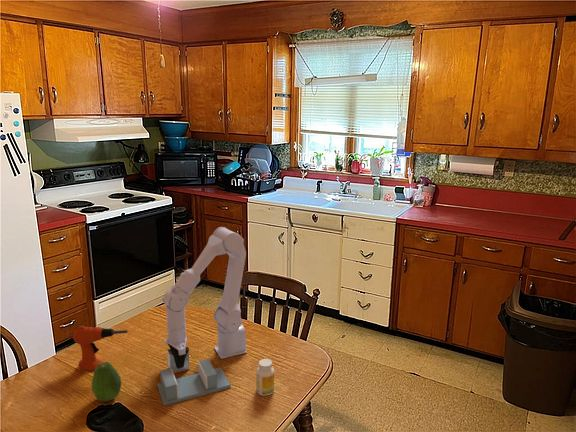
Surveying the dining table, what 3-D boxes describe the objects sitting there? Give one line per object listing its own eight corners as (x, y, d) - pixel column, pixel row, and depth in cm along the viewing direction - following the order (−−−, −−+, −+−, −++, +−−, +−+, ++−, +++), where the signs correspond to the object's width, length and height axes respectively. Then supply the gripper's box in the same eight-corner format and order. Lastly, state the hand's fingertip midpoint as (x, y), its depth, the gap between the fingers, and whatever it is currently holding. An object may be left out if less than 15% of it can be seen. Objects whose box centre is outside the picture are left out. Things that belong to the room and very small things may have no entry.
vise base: (220, 370, 142) (220, 355, 140) (230, 387, 133) (230, 371, 132) (157, 386, 133) (156, 370, 132) (163, 406, 124) (162, 389, 123)
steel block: (186, 362, 146) (185, 345, 144) (189, 369, 142) (188, 351, 141) (168, 367, 143) (167, 349, 142) (170, 373, 140) (169, 355, 138)
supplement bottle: (253, 392, 131) (252, 364, 128) (262, 383, 135) (262, 355, 133) (268, 398, 128) (268, 369, 126) (277, 388, 133) (277, 360, 130)
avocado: (87, 403, 125) (83, 366, 122) (108, 388, 132) (104, 352, 129) (108, 411, 122) (104, 373, 119) (128, 394, 129) (125, 358, 126)
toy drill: (131, 369, 139) (122, 326, 136) (76, 372, 141) (65, 330, 138) (138, 360, 144) (128, 319, 141) (84, 364, 146) (74, 323, 143)
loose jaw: (209, 371, 139) (208, 358, 138) (217, 386, 132) (216, 373, 130) (198, 373, 138) (197, 361, 137) (206, 389, 130) (205, 376, 129)
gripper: (159, 318, 144) (161, 355, 147) (168, 339, 131) (170, 378, 134) (180, 314, 147) (182, 350, 150) (191, 334, 134) (193, 373, 137)
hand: (178, 363), depth 142 cm, fingers closed on steel block, 4 cm apart
